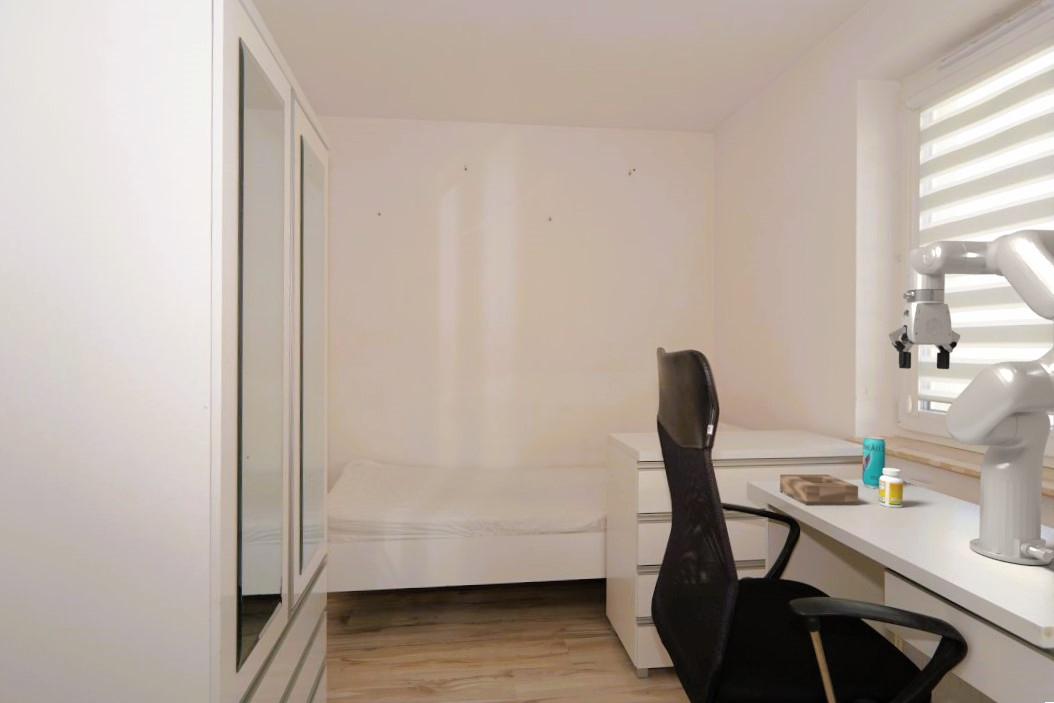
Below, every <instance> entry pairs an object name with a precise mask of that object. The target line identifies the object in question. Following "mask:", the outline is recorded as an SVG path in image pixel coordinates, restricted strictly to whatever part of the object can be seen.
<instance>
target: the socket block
mask: <svg viewBox="0 0 1054 703" xmlns="http://www.w3.org/2000/svg"><path fill="white" fill-rule="evenodd" d="M779 476H780V477H779V478H780V479H779V480H780V481H779V491H780V490H781V491H782V492H784V493H786V494H787V495H789V496H791V497H793V498H795V499H796V500H795V499H794V500H795V501H797V500H798V501H797V502H799V501H800V502H799V503H801V502H802V503H801V504H803V503H804V505H805V504H806V505H805V506H858V505H859V486H858V485H855V484H853V483H850V482H848V481H845V480H842V479H840V478H837V477H835V476H832V475H830V474H780V475H779ZM787 495H786V496H787ZM789 496H788V497H789ZM791 497H790V498H791ZM793 498H792V499H793Z"/></svg>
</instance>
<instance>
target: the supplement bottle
mask: <svg viewBox="0 0 1054 703" xmlns="http://www.w3.org/2000/svg"><path fill="white" fill-rule="evenodd" d="M882 473H883V474H884V475H883V476H881V477H880V478H879V489H878V503H879V505H881V506H882V505H883V507H887V508H894V509H899V508H902V507H903V499H904V496H903V495H904V494H903V493H904V480H903V478H902V477H901V470H900V469H899V468H894V467H885V468H883V472H882Z"/></svg>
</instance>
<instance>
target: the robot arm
mask: <svg viewBox="0 0 1054 703" xmlns="http://www.w3.org/2000/svg"><path fill="white" fill-rule="evenodd" d="M906 272H907V275H906V278H907V280H906V293H903V295H902V297H903V299H904V300H905V299H906V303H905V304H904V307H903V308H902V309H903V310H902V314H901V319H900V320H901V321H900V328H898V329H895V330H894V331H892V332H890V333H889V334H888V337H889V340H890V342H891V344H892V346H893V347H894V349H895V350H896V352H898V368H899V369H905V370H909V369H911V368H912V352H911V351H910V350H911V349H912V347H914V345H919V346H920V345H922V346H923V345H927V346H929V345H931V346H933V345H934V346H935V347H936V348H937V350H938V351H939V352H937V353H936V369H939V370H940V369H941V370H949V369H950V362H951V360H950V359H951V353H953V352H954V349H955V348H956V347H957V346H958V343H959V340H960V339H961V334H959V333H958V332H956V331H954V330H952V318H951V312H950V308H949V304H948V303H945V282H946V275H973V276H974V275H975V276H976V275H978V276H979V275H996V276H999V277H1004V278H1005V279H1006V281H1007V282H1008V284H1010V286H1011V287H1012V288H1013V289H1014V290H1015V291H1016V294H1018V295H1019V297H1020V298H1021V299H1022V301H1023V302H1024V303H1025V304H1026V306H1028V308H1029V309H1030V310H1031V311H1032V312H1033V313H1035V314H1036V315H1037V316H1038V317H1041V318H1043V319H1045V320H1047V321H1053V322H1054V229H1021V230H1018V231H1015V232H1011V233H1009V234H1003V235H1000V236H998V237H996V238H995V239H993V240H992V241H991V240H990V241H974V240H972V241H971V240H937V241H933V242H931V243H929V244H927V245H924V246H921V247H916V248H913V249H910V250H909V252H908V254H907V270H906ZM899 337H900V338H899ZM1048 413H1054V345H1053V346H1052V347H1051V348H1050V349H1049V350H1048V351H1047V352H1046V353H1045V354H1043V355H1042V356H1041V357H1039V358H1038V359H1034V360H1030V361H1018V360H1017V361H1012V360H1011V361H1010V360H1009V361H1001V362H997V363H994V364H991V365H990V366H987V367H986V368H984V369H983V370H982V371H980V372H979V373H978V374H977V375H976V377H974V379H972V380H971V382H970V383H969V384H968V385H967V386H966V387H965V388H964V389H963V390H962V392H961V393H960V394H959V395H958V396H957V397H956V398H955V399H954V400H953V402H952V403H951V404H950V406H948V409H947V411H946V414H945V417H944V418H945V419H944V425H945V430H946V432H947V433H948V435H949V436H950V437H951V438H952V439H953V440H954V441H956V442H958V443H960V444H965V445H968V446H988V447H987V449H986V450H985V452H984V454H983V457H982V460H981V462H980V463H981V465H980V482H979V483H980V484H979V487H980V488H979V489H980V490H979V527H978V528H979V529H978V530H979V531H978V532H979V535H978V538H973V539H971V540H970V541H969V548H970V549H971V550H973V552H975V553H977V554H980V555H982V556H984V557H988V558H992V559H995V560H999V561H1003V562H1008V563H1012V564H1020V565H1028V566H1043V565H1044V566H1045V565H1049V564H1051V562H1052V560H1053V559H1054V549H1050V548H1046V545H1047V544H1046V542H1047V540H1046V539H1045V538H1042V537H1041V536H1042V535H1041V533H1042V499H1043V497H1042V496H1043V495H1042V494H1043V489H1042V488H1043V470H1044V469H1043V467H1044V457H1045V451H1046V447H1047V442H1048V440H1049V436H1050V433H1051V427H1052V426H1051V418H1050V417H1049V414H1048Z"/></svg>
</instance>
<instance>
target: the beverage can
mask: <svg viewBox="0 0 1054 703" xmlns="http://www.w3.org/2000/svg"><path fill="white" fill-rule="evenodd" d="M863 438H864V439H863V441H862V476H861V477H862V479H861V480H862V483H863V485H864V487H866V486H867V487H866V488H868V487H873V488H872V489H875V488H879V478H880V477H881V476H883V475H884V474H883V473H882V472H883V468H886V441H885V437H882V436H876V435H865V436H864V437H863Z"/></svg>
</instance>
